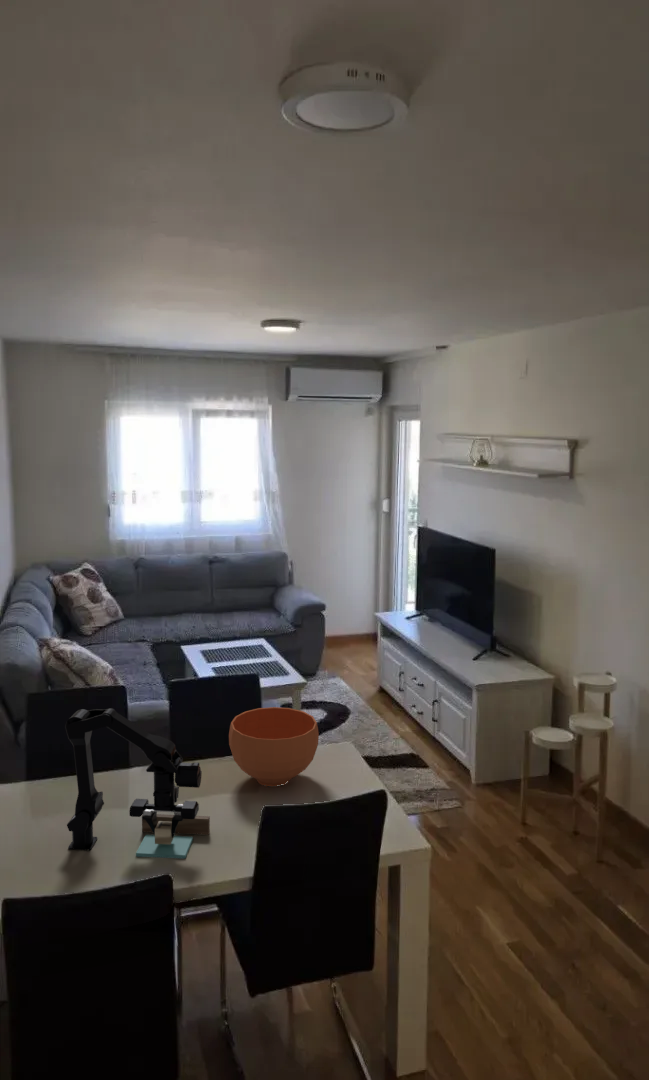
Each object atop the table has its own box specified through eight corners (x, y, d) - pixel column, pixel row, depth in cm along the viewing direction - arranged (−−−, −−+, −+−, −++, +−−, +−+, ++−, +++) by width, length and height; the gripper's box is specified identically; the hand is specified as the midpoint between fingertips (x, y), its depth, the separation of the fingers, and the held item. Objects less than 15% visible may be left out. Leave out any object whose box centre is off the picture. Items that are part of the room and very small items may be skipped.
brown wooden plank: (208, 834, 233) (208, 819, 232) (142, 831, 234) (141, 816, 233) (209, 831, 235) (209, 816, 234) (143, 829, 236) (143, 813, 235)
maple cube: (170, 844, 223) (170, 829, 222) (154, 843, 223) (154, 828, 222) (174, 836, 227) (174, 821, 226) (159, 835, 227) (158, 820, 227)
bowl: (333, 773, 275) (334, 717, 272) (286, 808, 249) (286, 747, 246) (262, 754, 290) (263, 700, 287) (211, 785, 264) (211, 727, 261)
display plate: (185, 858, 220) (185, 855, 220) (136, 856, 221) (135, 853, 221) (192, 839, 230) (192, 836, 230) (145, 837, 231) (145, 834, 231)
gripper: (202, 774, 230) (202, 823, 232) (139, 771, 231) (140, 820, 233) (194, 791, 219) (194, 843, 221) (128, 788, 220) (129, 840, 222)
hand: (164, 836), depth 225 cm, fingers closed on maple cube, 4 cm apart
